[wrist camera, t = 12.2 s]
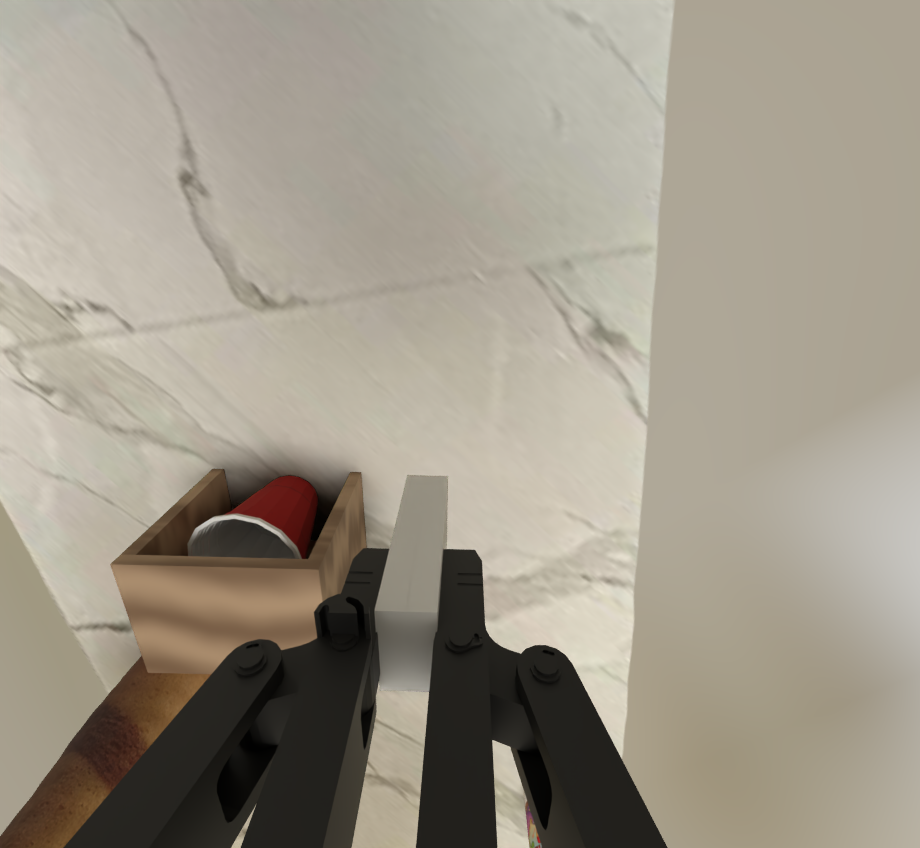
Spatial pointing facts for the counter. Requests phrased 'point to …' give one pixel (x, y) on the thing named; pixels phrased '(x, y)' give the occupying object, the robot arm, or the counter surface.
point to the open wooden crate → (229, 583)
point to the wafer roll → (100, 756)
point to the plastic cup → (262, 524)
